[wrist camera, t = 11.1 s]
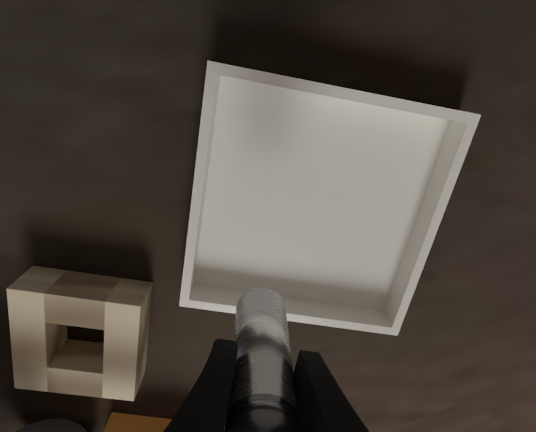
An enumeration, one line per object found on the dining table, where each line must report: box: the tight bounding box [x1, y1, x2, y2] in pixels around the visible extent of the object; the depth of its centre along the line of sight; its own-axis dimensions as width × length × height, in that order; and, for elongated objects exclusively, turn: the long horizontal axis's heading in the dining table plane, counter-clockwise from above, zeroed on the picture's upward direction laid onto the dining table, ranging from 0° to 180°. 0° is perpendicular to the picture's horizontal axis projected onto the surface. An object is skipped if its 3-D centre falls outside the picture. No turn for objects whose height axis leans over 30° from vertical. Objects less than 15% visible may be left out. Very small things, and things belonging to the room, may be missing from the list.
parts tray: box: [179, 60, 481, 336], centre depth 20 cm, size 13×13×2 cm
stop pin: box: [224, 288, 300, 432], centre depth 12 cm, size 2×2×6 cm
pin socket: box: [7, 266, 153, 401], centre depth 22 cm, size 7×7×2 cm
